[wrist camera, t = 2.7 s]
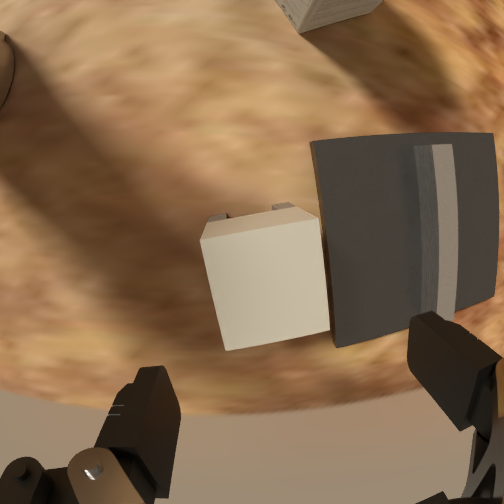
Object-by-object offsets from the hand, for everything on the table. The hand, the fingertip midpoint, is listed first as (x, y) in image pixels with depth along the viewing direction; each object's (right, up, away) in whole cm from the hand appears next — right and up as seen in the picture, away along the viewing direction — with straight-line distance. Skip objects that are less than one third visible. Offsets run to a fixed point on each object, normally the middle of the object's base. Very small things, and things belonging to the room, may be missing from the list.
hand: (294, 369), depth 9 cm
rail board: (+13, +5, +14) cm, 20 cm away
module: (-1, +4, +14) cm, 14 cm away
